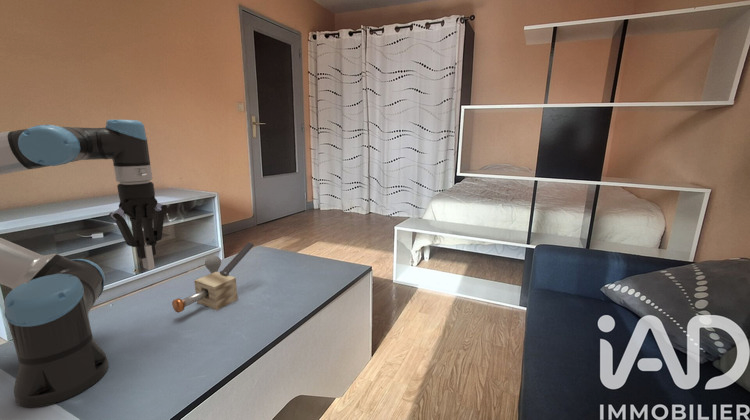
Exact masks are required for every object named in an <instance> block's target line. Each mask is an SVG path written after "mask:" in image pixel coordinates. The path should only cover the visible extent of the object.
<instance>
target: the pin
mask: <svg viewBox="0 0 750 420" xmlns="http://www.w3.org/2000/svg"><path fill="white" fill-rule="evenodd" d="M207 296H209V292H208V289H205V290H203V291H200V292H198V293H196V292H195V293H194V294H191V295H190V296H189V295H188V296H187V297H185V298H182V299H181V298H175V299H173V300H172V304H171V305H172V308H173V309H172V310H174V312H175V313H177V314H179V313H180V312H183V311H184V310H185V308H186V307H187V306H190V305H192V304H194V303H197V301H199V300H201V299H203V298H205V297H207Z"/></svg>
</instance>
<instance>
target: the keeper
mask: <svg viewBox="0 0 750 420" xmlns="http://www.w3.org/2000/svg"><path fill="white" fill-rule="evenodd" d="M253 247H255V245H254V243H252V242H247V243H246V244H245V245H244V247H242V249H241V250H240V251H239V252H238V253H237V254H236V255H235V256H234V257H233V259H231V261H230V262H229V263H228V264H227V265H226V266H225V267H224V268H223V269H222V270H220V272H219V273H220V274H222V275H225V276H228V275H229V276H230V273H231V272H232V271H233V270H234V269H235V267H236V266H237V265H238V264H240V262H241V261H242V259H243V258H244V257H245V256H246V255H247V254H248V253H249V252H250V251H251V250H252V249H253Z"/></svg>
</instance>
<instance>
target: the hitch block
mask: <svg viewBox="0 0 750 420" xmlns="http://www.w3.org/2000/svg"><path fill="white" fill-rule="evenodd" d="M193 282H194V290H195V294H196V293H198V292H200V291H203V290H205V289H208V292H209V296H207V297H205V298H203V299H201V300H199V301H197V302H196V304H200V305H202V306H205V307H208V308H210V309H212V310H216V311H218V310H220V309H222V308H224V307H227V306H228V305H230V304H232V303H234V302H235V301H238V289H237V288H238V287H237V277H235V276H232V275H230V274H229V275H228V276H225V275H222V274H220V272H219V271H218V272H214V273H212V274H211V273H209V274H207V275H204V276H203V277H202V276H201V277H199V278H197V279H194V281H193Z"/></svg>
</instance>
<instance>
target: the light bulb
mask: <svg viewBox="0 0 750 420" xmlns="http://www.w3.org/2000/svg"><path fill="white" fill-rule="evenodd" d="M204 261H205V262H204V266H205V267H206V269H207V270H208V271H209V272H210V274H212V273H214V272H219V269H220V267H221V265H222V260H221V258H220V257H219V256H217V255H210V256H208V257H207V258H206V259H205V260H204Z"/></svg>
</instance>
